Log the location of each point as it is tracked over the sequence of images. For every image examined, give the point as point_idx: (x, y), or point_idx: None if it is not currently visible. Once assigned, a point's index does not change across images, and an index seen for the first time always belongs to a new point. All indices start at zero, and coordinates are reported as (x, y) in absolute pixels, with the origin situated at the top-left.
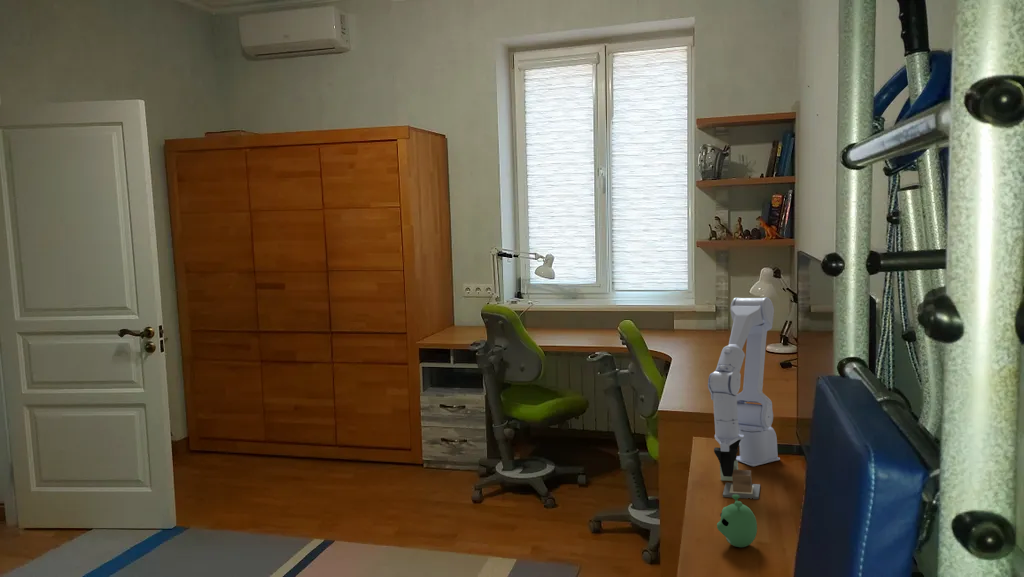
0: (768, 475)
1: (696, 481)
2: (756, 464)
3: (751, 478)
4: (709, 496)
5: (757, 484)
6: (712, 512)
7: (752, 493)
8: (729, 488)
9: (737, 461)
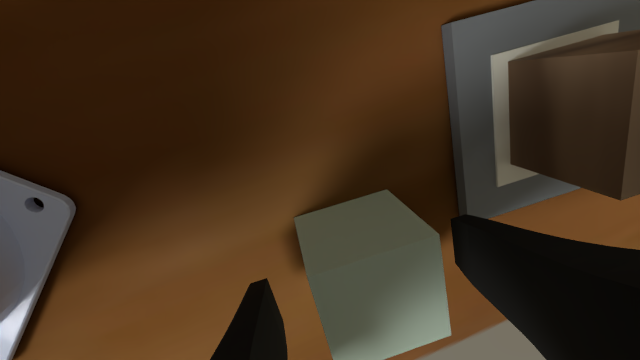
0: (193, 35)
1: (447, 345)
2: (33, 188)
3: (562, 56)
4: (609, 223)
5: (456, 40)
6: None
7: (614, 21)
8: None
9: (328, 271)
